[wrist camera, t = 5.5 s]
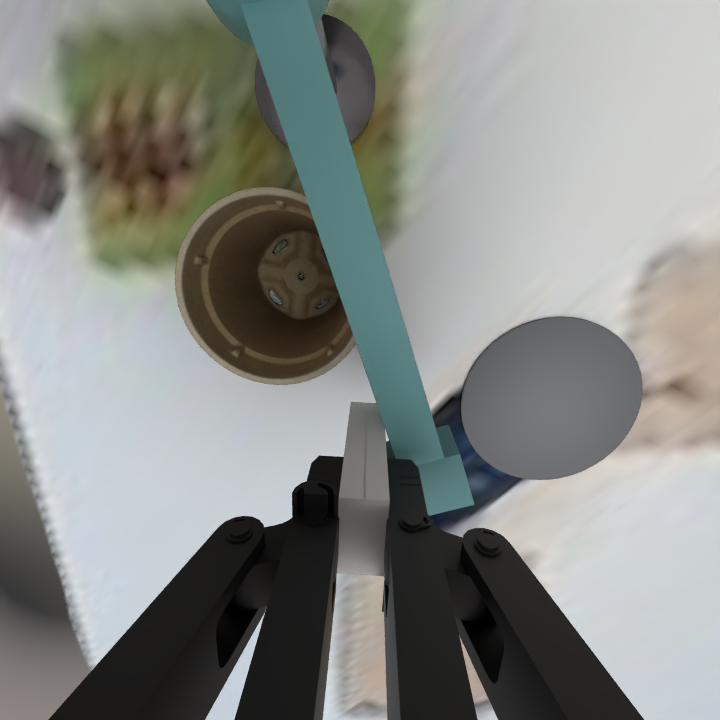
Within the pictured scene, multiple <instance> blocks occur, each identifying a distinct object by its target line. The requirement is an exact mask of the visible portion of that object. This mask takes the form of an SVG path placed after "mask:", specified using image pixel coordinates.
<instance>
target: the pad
mask: <svg viewBox="0 0 720 720" xmlns="http://www.w3.org/2000/svg"><path fill="white" fill-rule="evenodd" d="M641 400H642V378H641V372H640V369H639V366H638V363H637V361H636V359H635V357H634V355H633V353H632V352H631V350H630V349H629V347H628V346H627V345H626V344H625V343H624V342H623V341H622V340H621V339H620V338H619V337H618V336H617V335H615V334H614V333H612V332H611V331H610V330H608V329H606V328H604V327H602V326H600V325H598V324H595V323H592V322H589V321H586V320H582V319H577V318H568V317H554V318H545V319H540V320H535V321H532V322H529V323H526V324H523V325H521V326H519V327H517V328H514V329H512V330H511V331H509V332H507V333H506V334H504V335H502V336H501V337H500V338H498V339H497V340H496V341H494V342H493V343H492V344H491V345H490V346H489V347H488V348H487V349H486V350H485V351H484V352H483V353H482V354H481V355H480V357H479V358H478V359H477V360H476V362H475V363H474V365H473V367H472V368H471V370H470V372H469V374H468V376H467V379H466V381H465V384H464V387H463V391H462V397H461V418H462V423H463V427H464V430H465V433H466V435H467V437H468V439H469V441H470V443H471V445H472V446H473V448H474V449H475V451H476V452H477V453H478V454H479V455H480V456H481V457H482V458H483V459H484V460H485V461H486V462H487V463H489V464H490V465H491V466H493V467H495V468H496V469H498V470H500V471H502V472H504V473H506V474H509V475H512V476H515V477H519V478H524V479H532V480H550V479H557V478H562V477H566V476H570V475H573V474H576V473H579V472H581V471H584V470H586V469H588V468H590V467H592V466H593V465H595V464H597V463H598V462H600V461H601V460H603V459H604V458H605V457H607V456H608V455H609V454H610V453H612V452H613V451H614V450H615V449H616V448H617V447H618V446H619V445H620V443H621V442H622V441H623V440H624V438H625V437H626V436H627V434H628V433H629V431H630V430H631V428H632V426H633V424H634V422H635V420H636V418H637V415H638V412H639V409H640V406H641Z"/></svg>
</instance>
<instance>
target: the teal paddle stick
mask: <svg viewBox="0 0 720 720" xmlns="http://www.w3.org/2000/svg"><path fill="white" fill-rule="evenodd" d="M206 1H207V2H208V4H209V5H210V7H211V8H212V9H213V11H214V12H215V14H216V15H217V16H218V18H219V19H220V21H221V22H222V23H223V24H224V25H225V26H226V28H227V29H228V30H229V31H231V32H232V33H233V34H234V35H235V36H237V37H238V38H240V39H241V40H243V41H245V42H247V43H249V44H252V45H254V47H255V50H256V52H257V55H258V58H259V61H260V64H261V67H262V70H263V73H264V76H265V79H266V82H267V85H268V88H269V90H270V93H271V96H272V99H273V102H274V105H275V108H276V111H277V114H278V117H279V120H280V123H281V125H282V128H283V131H284V134H285V137H286V140H287V143H288V146H289V149H290V152H291V155H292V158H293V160H294V163H295V166H296V169H297V172H298V175H299V178H300V181H301V184H302V187H303V190H304V193H305V196H306V198H307V201H308V204H309V207H310V210H311V213H312V216H313V219H314V222H315V225H316V228H317V231H318V233H319V236H320V239H321V242H322V245H323V248H324V251H325V254H326V257H327V260H328V263H329V266H330V269H331V271H332V274H333V277H334V280H335V283H336V286H337V289H338V292H339V295H340V298H341V301H342V304H343V306H344V309H345V312H346V315H347V318H348V321H349V324H350V327H351V330H352V333H353V336H354V339H355V341H356V344H357V347H358V350H359V353H360V356H361V359H362V362H363V365H364V368H365V371H366V374H367V377H368V379H369V382H370V385H371V388H372V391H373V394H374V397H375V400H376V403H377V406H378V409H379V412H380V414H381V417H382V420H383V423H384V426H385V429H386V432H387V435H388V438H389V441H387V442H386V452H387V458H389V459H408V460H412V461H413V462H414V463H415V465H416V466H417V467H418V468H419V473H420V479H421V483H422V488H423V493H424V498H425V503H426V508H427V513H428V515H433V514H437V513H442V512H446V511H450V510H454V509H458V508H462V507H466V506H471V505H474V502H473V498H472V495H471V491H470V488H469V484H468V481H467V477H466V474H465V470H464V467H463V463H462V460H461V456H460V453H459V450H458V448H457V445H456V443H455V440H454V438H453V435H452V433H451V430H450V428H449V425H446V426H442V427H439V428H435V425H434V421H433V418H432V415H431V411H430V408H429V405H428V401H427V398H426V395H425V391H424V388H423V385H422V381H421V378H420V375H419V371H418V368H417V365H416V361H415V358H414V355H413V351H412V348H411V345H410V341H409V338H408V335H407V331H406V328H405V325H404V321H403V318H402V315H401V311H400V308H399V305H398V301H397V298H396V295H395V291H394V288H393V285H392V281H391V278H390V275H389V271H388V268H387V265H386V261H385V258H384V255H383V251H382V248H381V245H380V241H379V238H378V235H377V231H376V228H375V225H374V221H373V218H372V215H371V211H370V208H369V205H368V201H367V198H366V195H365V191H364V188H363V185H362V181H361V178H360V174H359V171H358V168H357V164H356V161H355V158H354V154H353V151H352V148H351V144H350V141H349V138H348V134H347V131H346V128H345V124H344V121H343V118H342V114H341V111H340V108H339V104H338V101H337V98H336V94H335V91H334V88H333V84H332V81H331V78H330V74H329V71H328V68H327V64H326V61H325V58H324V54H323V51H322V48H321V44H320V41H319V38H318V34H317V31H316V28H315V25H316V24H317V23H318V22H319V20H320V18H321V17H322V15H323V13H324V11H325V9H326V7H327V5H328V2H329V0H206Z"/></svg>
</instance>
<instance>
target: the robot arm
mask: <svg viewBox="0 0 720 720" xmlns="http://www.w3.org/2000/svg"><path fill="white" fill-rule="evenodd" d="M292 515H293V517H292V518H291V519H290V520H289V521H286V522H284V523H282V524H278V525H275V526H269V527H264V525H263V524H262V523H261V521H260V520H258V519H256V518H254V517H249V516H241V517H235V518H232V519H230V520H228V521H226V522H224V523H223V524H222V525H221V526H220V527H218V528H217V530H216V531H215V532H214V533H213V534H212V535H211V536H210V537H209V539H208V540H207V541H206V542H205V543H204V544H203V545H202V547H201V548H200V549H199V550H198V551H197V552H196V553H195V554H194V556H193V557H192V558H191V559H190V560H189V561H188V562H187V564H186V565H185V566H184V567H183V568H182V569H181V570H180V571H179V573H178V574H177V575H176V576H175V577H174V578H173V579H172V581H171V582H170V583H169V584H168V585H167V586H166V587H165V588H164V590H163V591H162V592H161V593H160V594H159V595H158V596H157V597H156V599H155V600H154V601H153V602H152V603H151V604H150V605H149V607H148V608H147V609H146V610H145V611H144V612H143V613H142V614H141V616H140V617H139V618H138V619H137V620H136V621H135V622H134V624H133V625H132V626H131V627H130V628H129V629H128V630H127V631H126V633H125V634H124V635H123V636H122V637H121V638H120V639H119V640H118V642H117V643H116V644H115V645H114V646H113V647H112V648H111V650H110V651H109V652H108V653H107V654H106V655H105V656H104V657H103V659H102V660H101V661H100V662H99V663H98V664H97V665H96V667H95V668H94V669H93V670H92V671H91V672H90V673H89V674H88V676H87V677H86V678H85V679H84V680H83V681H82V682H81V684H80V685H79V686H78V687H77V688H76V689H75V690H74V692H73V693H72V694H71V695H70V696H69V697H68V698H67V699H66V701H65V702H64V703H63V704H62V705H61V706H60V707H59V709H58V710H57V711H56V712H55V713H54V714H53V715H52V716H51V717H50V719H49V720H205V719H206V717H207V715H208V713H209V711H210V710H211V708H212V706H213V704H214V702H215V701H216V699H217V697H218V695H219V693H220V692H221V690H222V688H223V686H224V684H225V683H226V681H227V679H228V677H229V675H230V674H231V672H232V670H233V668H234V666H235V665H236V663H237V661H238V659H239V657H240V656H241V654H242V652H243V650H244V648H245V647H246V645H247V643H248V641H249V640H250V638H251V636H252V634H253V632H254V631H255V629H256V627H257V625H258V623H259V622H260V620H261V618H262V616H263V614H264V613H265V615H264V618H263V622H262V625H261V629H260V632H259V636H258V639H257V643H256V646H255V650H254V653H253V657H252V660H251V664H250V667H249V671H248V674H247V678H246V681H245V685H244V688H243V692H242V695H241V699H240V702H239V706H238V709H237V713H236V716H235V720H322V719H323V710H324V700H325V690H326V681H327V671H328V661H329V652H330V642H331V632H332V623H333V613H334V603H335V593H336V574H337V573H343V574H359V575H376V576H384V578H385V580H384V592H383V605H382V612H384V622H385V654H386V686H387V718H388V720H477V716H476V711H475V706H474V702H473V697H472V693H471V688H470V683H469V679H468V674H467V670H466V665H465V660H464V656H463V651H462V647H461V642H460V638H461V640H462V642H463V644H464V646H465V648H466V651H467V653H468V655H469V657H470V659H471V661H472V664H473V666H474V668H475V670H476V672H477V675H478V677H479V679H480V681H481V683H482V685H483V688H484V690H485V692H486V694H487V696H488V698H489V701H490V703H491V705H492V707H493V709H494V711H495V714H496V716H497V718H498V720H644V719H643V718H642V716H641V715H640V714H639V712H638V711H637V710H636V708H635V707H634V706H633V705H632V703H631V702H630V701H629V699H628V698H627V697H626V695H625V694H624V693H623V691H622V690H621V689H620V687H619V686H618V685H617V683H616V682H615V681H614V680H613V678H612V677H611V676H610V674H609V673H608V672H607V670H606V669H605V668H604V666H603V665H602V664H601V662H600V661H599V660H598V658H597V657H596V656H595V654H594V653H593V652H592V651H591V649H590V648H589V647H588V645H587V644H586V643H585V641H584V640H583V639H582V637H581V636H580V635H579V633H578V632H577V631H576V629H575V628H574V627H573V626H572V624H571V623H570V622H569V620H568V619H567V618H566V616H565V615H564V614H563V612H562V611H561V610H560V608H559V607H558V606H557V604H556V603H555V602H554V601H553V599H552V598H551V597H550V595H549V594H548V593H547V591H546V590H545V589H544V587H543V586H542V585H541V583H540V582H539V581H538V579H537V578H536V577H535V575H534V574H533V573H532V572H531V570H530V569H529V568H528V566H527V565H526V564H525V562H524V561H523V560H522V558H521V557H520V556H519V554H518V553H517V552H516V550H515V549H514V548H513V547H512V545H511V544H510V543H509V542H508V541H507V540H506V539H505V538H504V537H503V536H502V535H500V534H498V533H497V532H495V531H492V530H489V529H485V528H474V529H471V530H468V531H467V532H466V533H465V534H464V536H463V538H462V537H459V536H456V535H452V534H450V533H447V532H444V531H443V530H441V529H439V528H438V527H437V526H435V524H434V522H433V520H432V518H431V517H430V516H429V515H428V513H427V508H426V503H425V498H424V493H423V488H422V483H421V479H420V473H419V468H418V467H417V466H416V465H415V463H414V462H413V461H412V460H408V459H389V458H387V452H386V437H385V426H384V423H383V420H382V417H381V414H380V412H379V409H378V406H377V403H362V402H351V406H350V414H349V421H348V429H347V437H346V445H345V452H344V457H333V456H318V457H317V458H316V459H315V460H314V461H313V462H312V463H311V467H310V471H309V474H308V478H307V482H303V483H301V484H300V485H298V486H297V487H295V489H294V491H293V492H292ZM266 607H267V608H266ZM265 610H266V611H265ZM459 635H460V637H459Z"/></svg>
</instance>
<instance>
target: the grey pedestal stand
mask: <svg viewBox="0 0 720 720" xmlns="http://www.w3.org/2000/svg"><path fill="white" fill-rule="evenodd" d="M315 28H316V31H317V34H318V38H319V41H320V44H321V48H322V51H323V54H324V58H325V61H326V64H327V68H328V71H329V74H330V78H331V81H332V84H333V88H334V91H335V94H336V98H337V101H338V104H339V108H340V111H341V114H342V118H343V121H344V124H345V128H346V131H347V134H348V138H349V141H350V144H351V145H352V144H354V143H355V142H356V141H357V139H358V138H359V137H360V136H361V134H362V133H363V132H364V130H365V128H366V127H367V125H368V122H369V120H370V118H371V114H372V111H373V106H374V100H375V76H374V70H373V65H372V62H371V58H370V56H369V54H368V51H367V49H366V47H365V45H364V44H363V42H362V40H361V39H360V38H359V36H358V35H357V34H356V33H355V32H354V31H353V30H352V29H351V28H350V27H349V26H348V25H346V24H345V23H344V22H342V21H340V20H338V19H337V18H334V17H332V16H329V15H325V14H323V15H322V17H321V18H320V20H319V22H318V23H317V24H316V25H315ZM255 90H256V98H257V102H258V106H259V109H260V111H261V114H262V116H263V118H264V120H265V122H266V124H267V125H268V127H269V128H270V130H271V131H272V132H273V133H274V134H275V136H276V137H277V138H278V139H279V140H280V141H281V142H282V143H283V144H285V145H286V146H287V147H289V146H288V143H287V140H286V137H285V134H284V131H283V128H282V125H281V123H280V120H279V117H278V114H277V111H276V108H275V105H274V102H273V99H272V96H271V93H270V90H269V88H268V85H267V82H266V79H265V76H264V73H263V70H262V67H261V64H260V61H259V59H258V62H257V67H256V74H255Z"/></svg>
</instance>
